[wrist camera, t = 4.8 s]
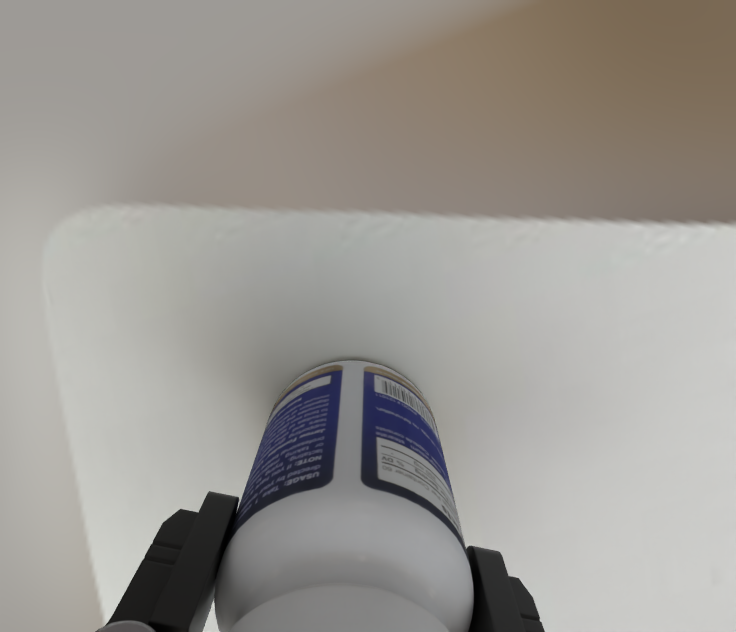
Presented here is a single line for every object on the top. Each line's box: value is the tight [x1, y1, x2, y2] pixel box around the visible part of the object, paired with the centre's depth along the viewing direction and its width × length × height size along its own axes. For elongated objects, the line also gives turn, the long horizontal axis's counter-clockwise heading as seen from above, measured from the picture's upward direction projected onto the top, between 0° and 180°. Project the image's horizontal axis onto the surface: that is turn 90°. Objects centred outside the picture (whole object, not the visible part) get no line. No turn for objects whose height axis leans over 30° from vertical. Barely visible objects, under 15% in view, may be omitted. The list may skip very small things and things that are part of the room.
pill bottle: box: [214, 360, 474, 632], centre depth 13 cm, size 6×6×10 cm
